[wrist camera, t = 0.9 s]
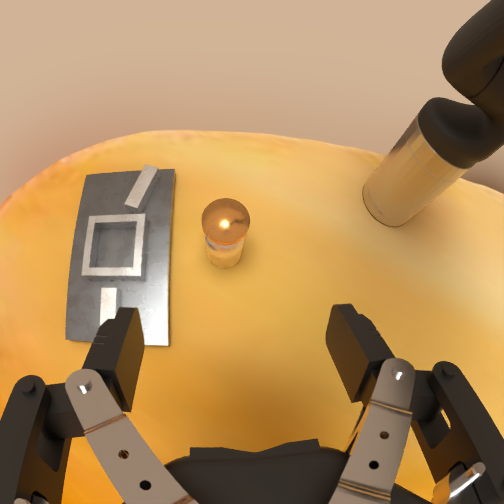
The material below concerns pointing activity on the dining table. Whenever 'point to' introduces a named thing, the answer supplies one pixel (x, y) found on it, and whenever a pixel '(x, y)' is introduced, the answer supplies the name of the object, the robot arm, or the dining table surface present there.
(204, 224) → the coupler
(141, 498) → the robot arm
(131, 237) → the coupling base
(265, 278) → the dining table surface
